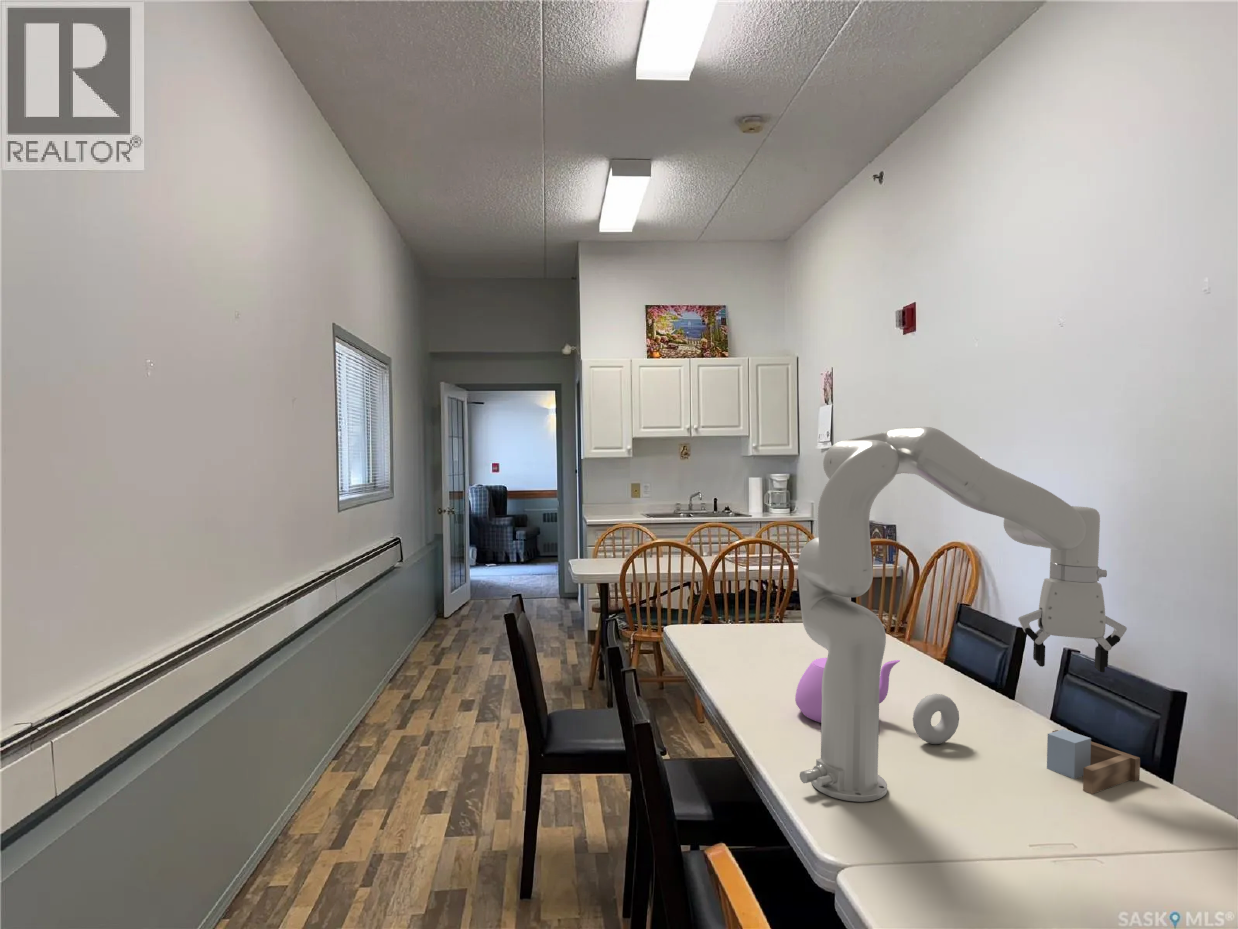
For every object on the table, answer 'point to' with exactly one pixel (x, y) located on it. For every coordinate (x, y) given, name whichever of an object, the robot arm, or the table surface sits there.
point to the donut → (925, 713)
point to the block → (1068, 753)
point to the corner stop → (1109, 768)
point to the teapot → (811, 688)
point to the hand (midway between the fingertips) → (1069, 667)
